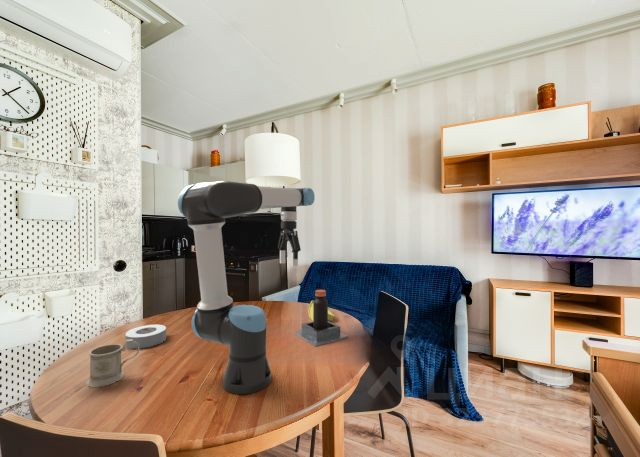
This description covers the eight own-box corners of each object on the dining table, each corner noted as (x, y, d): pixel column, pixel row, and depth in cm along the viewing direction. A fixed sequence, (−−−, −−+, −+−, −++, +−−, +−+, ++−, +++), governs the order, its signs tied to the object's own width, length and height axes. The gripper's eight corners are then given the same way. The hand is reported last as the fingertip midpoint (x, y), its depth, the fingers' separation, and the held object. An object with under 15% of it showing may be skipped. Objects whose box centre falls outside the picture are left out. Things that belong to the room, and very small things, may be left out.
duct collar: (314, 346, 118) (314, 335, 118) (294, 333, 133) (294, 323, 133) (347, 337, 128) (348, 327, 128) (325, 326, 143) (325, 316, 143)
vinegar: (328, 331, 133) (328, 289, 133) (326, 336, 126) (326, 292, 127) (314, 330, 134) (314, 289, 135) (311, 335, 128) (312, 292, 128)
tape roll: (153, 349, 115) (153, 336, 115) (116, 349, 115) (116, 336, 115) (172, 335, 130) (173, 324, 130) (140, 335, 130) (140, 324, 130)
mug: (79, 389, 85) (80, 350, 85) (95, 373, 95) (95, 338, 95) (133, 382, 89) (134, 344, 90) (143, 368, 99) (144, 334, 99)
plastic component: (336, 317, 151) (320, 310, 148) (330, 329, 151) (314, 323, 148) (324, 305, 170) (310, 299, 167) (318, 316, 169) (304, 310, 166)
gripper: (271, 221, 144) (271, 262, 144) (293, 219, 123) (293, 268, 123) (284, 221, 148) (284, 261, 148) (308, 220, 127) (307, 267, 127)
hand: (288, 264), depth 135 cm, fingers open, 13 cm apart
